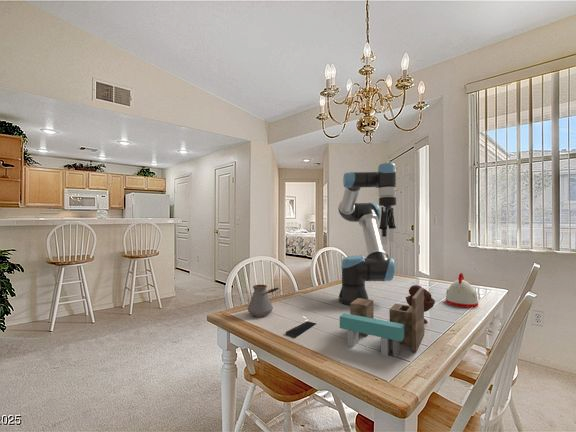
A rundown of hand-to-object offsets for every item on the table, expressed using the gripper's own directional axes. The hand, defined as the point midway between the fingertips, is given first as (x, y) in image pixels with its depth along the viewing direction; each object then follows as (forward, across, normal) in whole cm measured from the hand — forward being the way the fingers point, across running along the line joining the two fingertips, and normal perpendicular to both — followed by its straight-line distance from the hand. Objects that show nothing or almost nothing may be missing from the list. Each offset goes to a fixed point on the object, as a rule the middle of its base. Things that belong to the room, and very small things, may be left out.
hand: (388, 243), depth 132 cm
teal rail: (+31, -42, -3) cm, 53 cm away
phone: (+33, -38, +24) cm, 56 cm away
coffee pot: (+32, -33, +46) cm, 65 cm away
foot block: (+32, -30, +4) cm, 44 cm away
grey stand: (+32, -42, -3) cm, 53 cm away
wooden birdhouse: (+32, -31, -11) cm, 46 cm away
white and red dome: (+32, +32, -28) cm, 53 cm away
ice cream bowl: (+32, -6, -14) cm, 35 cm away
